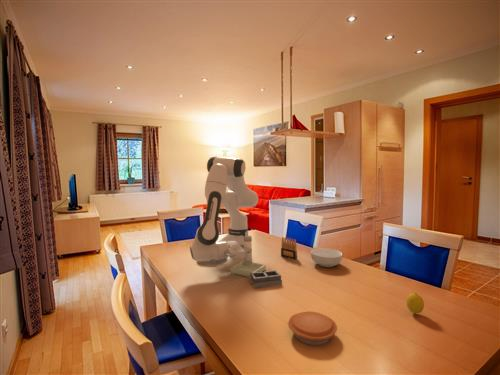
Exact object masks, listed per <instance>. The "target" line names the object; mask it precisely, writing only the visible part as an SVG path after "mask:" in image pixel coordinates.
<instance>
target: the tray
mask: <svg viewBox="0 0 500 375" xmlns="http://www.w3.org/2000/svg"><path fill="white" fill-rule="evenodd" d="M264 271H266V264H262V263H256V262H252V264H250V265H246V264H244V260H242V261H240V262H239V263H237V264H234V265H233V266H232V267H230V274H233V275H237V276H243V277H246V278H247V277H248V278H250V273H255V272H264Z"/></svg>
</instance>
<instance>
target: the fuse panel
mask: <svg viewBox="0 0 500 375" xmlns="http://www.w3.org/2000/svg"><path fill="white" fill-rule="evenodd" d="M249 281H250V283H251V285H252V286H253V288H254V289H259V288H260V289H261V288H265V287H266V288H268V287H274V286H281V285H282V284H283V281H282V275H281V274H280V273H279V272H278V271H277V270H276V269H275V270H267V271H266V270H265V271H264V272H255V273H250V277H249Z"/></svg>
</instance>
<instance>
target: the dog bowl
mask: <svg viewBox="0 0 500 375" xmlns="http://www.w3.org/2000/svg"><path fill="white" fill-rule="evenodd" d="M196 262H197V263H198V262H199V264H200V265H201V264H202V265H218V264H219V265H220V264H223V263H225V262H226V259H221V260H215V259H213V260H210V261H196Z"/></svg>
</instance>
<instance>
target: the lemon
mask: <svg viewBox="0 0 500 375" xmlns="http://www.w3.org/2000/svg"><path fill="white" fill-rule="evenodd" d="M406 307H407V309H408V311H410V312H411V313H413V314H414V315H417V314H420V313H422V312H423V311H424V307H425V303H424V298H423V297H422V296H421V295H420V294H418V292H417V293H416V292H413V293H410V294H409V295H408V296H407V298H406Z"/></svg>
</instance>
